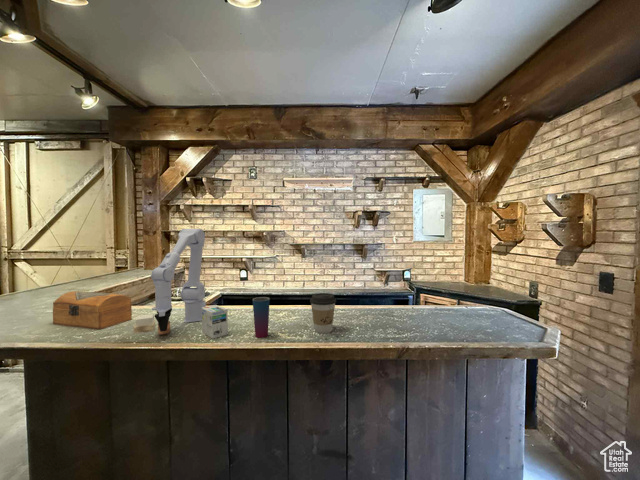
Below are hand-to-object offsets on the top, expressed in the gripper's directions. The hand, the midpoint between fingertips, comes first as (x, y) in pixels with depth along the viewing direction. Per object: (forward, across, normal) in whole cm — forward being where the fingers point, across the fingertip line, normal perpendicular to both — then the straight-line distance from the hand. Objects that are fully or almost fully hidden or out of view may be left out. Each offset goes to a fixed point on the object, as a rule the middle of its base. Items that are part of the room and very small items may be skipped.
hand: (164, 328), depth 111 cm
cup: (+3, +19, +36) cm, 41 cm away
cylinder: (+2, 0, 0) cm, 2 cm away
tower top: (0, -11, -8) cm, 14 cm away
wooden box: (+3, -34, -33) cm, 47 cm away
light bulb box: (+3, +8, +19) cm, 21 cm away
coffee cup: (+3, +25, +61) cm, 66 cm away
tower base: (+3, -11, -8) cm, 14 cm away
